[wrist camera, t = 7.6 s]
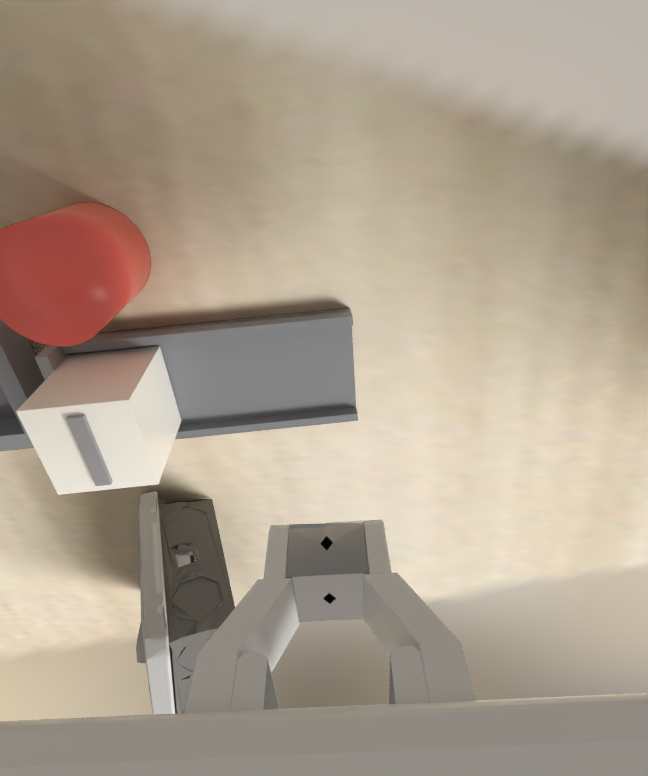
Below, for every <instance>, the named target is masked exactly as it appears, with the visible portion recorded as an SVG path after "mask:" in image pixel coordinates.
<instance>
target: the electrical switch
mask: <svg viewBox="0 0 648 776" xmlns="http://www.w3.org/2000/svg"><path fill="white" fill-rule="evenodd" d="M139 544H140V588H141V624H140V629H139V634H138V639H137V647H136V651H137V662H139V663H146V667H147V674H148V681H149V691H150V696H151V704H152V711H153V715H157V714H179V713H185V710H186V705H187V701H188V696H189V692H190V688H191V683H192V679H193V674H194V670H195V665H196V661H197V656H198V653H199V652H200V651H201V649H202V648H203V647H204V646H205V645H206V643H207V642H208V641H209V640H210V638H211V637H212V636H213V635H214V633H215V632H216V631H217V630H218V628H219V627H220V626H221V625H222V624H223V622H224V621H225V620H226V619H227V617H228V616H229V615H230V614H231V612H232V611H233V610H234V609H235V606H234V601H233V596H232V592H231V587H230V582H229V577H228V573H227V568H226V563H225V558H224V554H223V549H222V544H221V539H220V535H219V530H218V525H217V520H216V516H215V511H214V506H213V501H212V499H209V500H202V501H195V502H176V503H171V504H163V503H158V493H157V491H153V492H147V493H142V494H141V496H140V502H139ZM195 560H196V561H195ZM222 602H223V603H222ZM221 603H222V604H221ZM220 605H221V606H220ZM219 606H220V607H219Z"/></svg>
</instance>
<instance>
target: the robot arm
mask: <svg viewBox="0 0 648 776" xmlns="http://www.w3.org/2000/svg"><path fill="white" fill-rule="evenodd" d="M351 619H365V622H366V624H367V625H368V627H369V628H370V630H371V631H372V633H373V634H374V635H375V637H376V638H377V640H378V642H379V643H380V645H381V646H382V647H383V649H384V651H385V652H386V653H387V655H388V656H389V658H390V670H389V704H385V705H361V706H338V707H317V708H316V707H315V708H295V709H280V708H279V704H278V700H277V695H276V691H275V687H274V683H273V679H272V674H271V672H272V671H273V669H274V667H275V666H276V664H277V662H278V660H279V658H280V657H281V655H282V653H283V651H284V650H285V648H286V646H287V645H288V643H289V641H290V639H291V638H292V636H293V634H294V633H295V631H296V629H297V627H298V626H299V622H311V621H323V620H351ZM0 776H648V693H637V694H615V695H591V696H568V697H546V698H523V699H501V700H477V701H476V698H475V694H474V690H473V686H472V683H471V679H470V675H469V671H468V668H467V664H466V660H465V656H464V653H463V649H462V645H461V642H460V641H459V640H458V639H457V637H456V636H455V635H454V634H453V633H452V632H451V631H450V630H449V629H448V628H447V627H446V626H445V624H444V623H443V622H442V621H441V620H440V619H439V618H438V617H437V616H436V615H435V613H433V611H432V610H431V609H430V608H429V607H428V606H427V605H426V604H425V603H424V601H423V600H422V599H421V598H420V597H419V596H418V595H417V594H416V593H415V592H414V591H413V589H412V588H411V587H410V586H409V585H408V584H407V583H406V582H405V581H404V580H403V579H402V577H401V576H400V575H399V574H398V573H391V567H390V560H389V554H388V547H387V541H386V535H385V528H384V523H383V521H382V520H369V521H349V522H334V523H327V524H295V525H271V527H270V530H269V537H268V545H267V554H266V563H265V571H264V579H261V580H257V582H256V583H255V584H254V585H253V587H252V588H251V589H250V590H249V591H248V593H247V594H246V595H245V596H244V598H243V599H242V600H241V601H240V603H239V604H238V605H237V606H236V608H235V609H234V610H233V611H232V612H231V614H230V615H229V616H228V617H227V619H226V620H225V621H224V622H223V624H222V625H221V626H220V627H219V628H218V630H217V631H216V632H215V633H214V635H213V636H212V637H211V638H210V640H209V641H208V642H207V643H206V645H205V646H204V647H203V648H202V649H201V651H200V652H199V653H198V656H197V661H196V665H195V670H194V674H193V679H192V683H191V688H190V692H189V696H188V701H187V705H186V710H185V713H179V714H157V715H135V716H114V717H113V716H111V717H89V718H66V719H42V720H19V721H0Z"/></svg>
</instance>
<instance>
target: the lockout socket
mask: <svg viewBox="0 0 648 776" xmlns="http://www.w3.org/2000/svg"><path fill="white" fill-rule="evenodd" d="M35 357H36V354H35V352H34V350H33V348H32V345H31V343H30V341H29V339H28V338H26V337H24V336H22V335H20V334H19V333H17V332H16V331H14V330H13V329H11V328H10V327H9V326H8V325H6V324H5V323H4V322H3V321H2V320H1V319H0V451H6V450H16V449H26V448H34V446H33V444H32V442H31V440H30V438H29V436H28V434H27V432H26V430H25V428H24V426H23V424H22V422H21V420H20V418H19V416H18V414H17V412H16V411H17V410H18V409H19V408H20V407H21V405H22V404H23V403H24V402H25V401H26V400H27V399H28V398H29V397H30V396H31V395H32V394H33V393H34V392H35V391H36V390H37V388H38V387H39V386H40V385H41V384H42V383H43V382H44V381H45V379H44V377H43V375H42V373H41V371H40V368H39V366H38V364H37V362H36V359H35Z"/></svg>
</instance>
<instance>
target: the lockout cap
mask: <svg viewBox="0 0 648 776" xmlns="http://www.w3.org/2000/svg"><path fill="white" fill-rule="evenodd" d="M150 268H151V259H150V253H149V249H148V246H147V244H146V241H145V239H144V237H143V236H142V234H141V232H140V231H139V230H138V228H137V227H136V226H135V225H134V224H133V223H132V222H131V221H130V220H129V219H128V218H127V217H126V216H124V215H123V214H122V213H120V212H119V211H117V210H115V209H113V208H111V207H108V206H106V205H102V204H98V203H78V204H74V205H71V206H68V207H65V208H62V209H59V210H56V211H53V212H50V213H47V214H43V215H40V216H37V217H34V218H31V219H28V220H25V221H22V222H19V223H16V224H13V225H10V226H7V227H4V228H2V229H0V319H1V320H2V321H3V322H4V323H5V324H6V325H8V326H9V327H10V328H11V329H13V330H14V331H16V332H17V333H19V334H20V335H22V336H24V337H26V338H28V339H30V340H33V341H35V342H38V343H42V344H46V345H51V346H72V345H77V344H80V343H83V342H85V341H87V340H89V339H91V338H92V337H94V336H95V335H96V334H97V333H98V332H99V331H100V330H101V329H102V328H103V327H104V326H105V325H106V324H107V323H108V322H109V321H110V320H111V319H113V318H114V317H115V316H116V315H117V314H118V313H119V312H120V311H121V310H122V309H123V308H124V307H125V306H126V305H127V304H128V303H129V302H130V301H131V300H132V299H133V298H134V297H135V296H136V295H137V294H138V293H139V292H140V291H141V290H142V288H143V287H144V286H145V284H146V282H147V280H148V277H149V274H150Z"/></svg>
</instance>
